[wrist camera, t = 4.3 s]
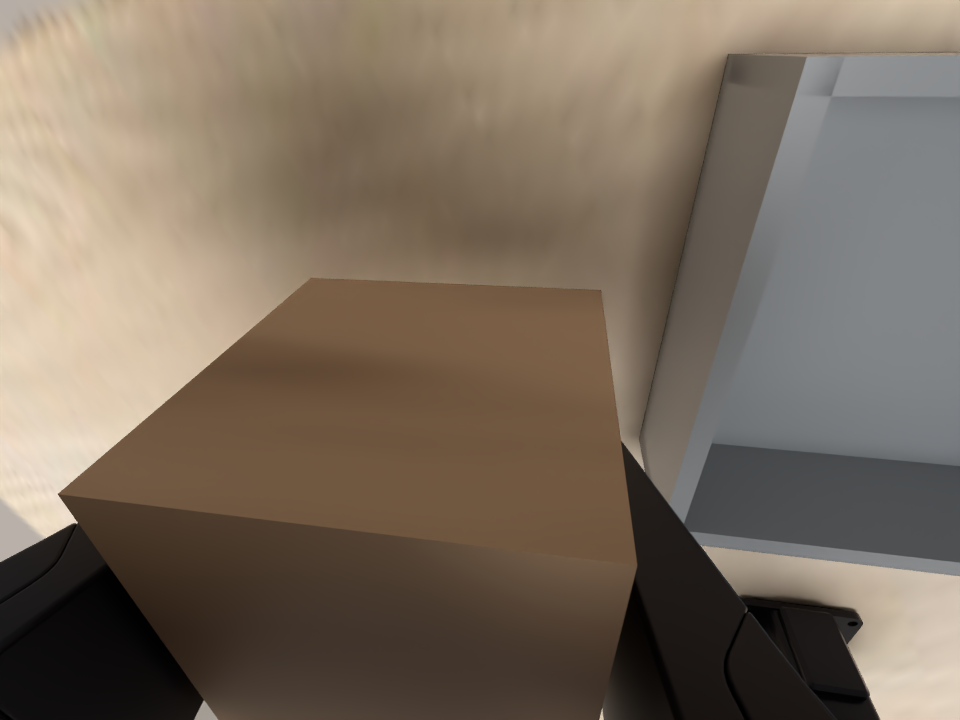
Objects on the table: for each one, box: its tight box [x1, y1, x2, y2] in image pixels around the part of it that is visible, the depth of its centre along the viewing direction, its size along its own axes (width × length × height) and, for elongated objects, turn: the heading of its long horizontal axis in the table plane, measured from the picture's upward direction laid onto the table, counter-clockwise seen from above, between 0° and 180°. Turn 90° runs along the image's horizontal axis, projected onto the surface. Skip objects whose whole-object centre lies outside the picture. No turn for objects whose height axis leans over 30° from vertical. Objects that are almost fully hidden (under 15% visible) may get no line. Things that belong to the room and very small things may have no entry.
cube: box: [58, 278, 637, 720], centre depth 7 cm, size 5×5×5 cm
